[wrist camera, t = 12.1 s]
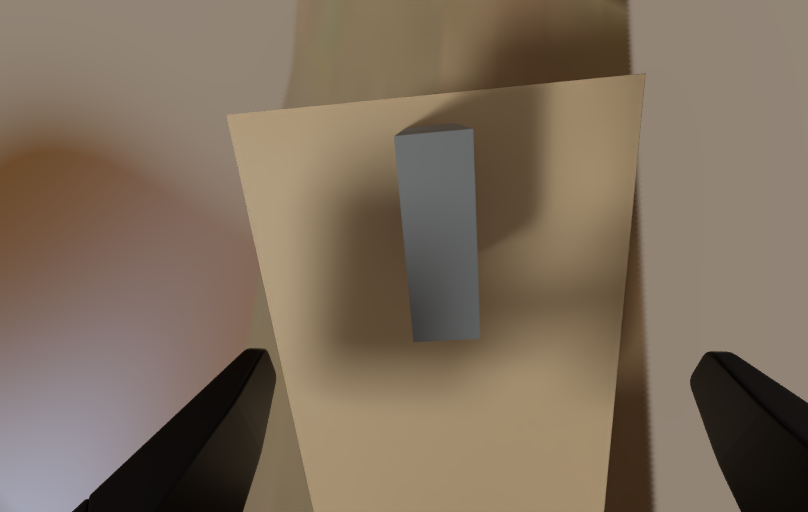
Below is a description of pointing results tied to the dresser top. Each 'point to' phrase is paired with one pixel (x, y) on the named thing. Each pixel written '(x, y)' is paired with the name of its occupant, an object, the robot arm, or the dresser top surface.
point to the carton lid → (449, 290)
